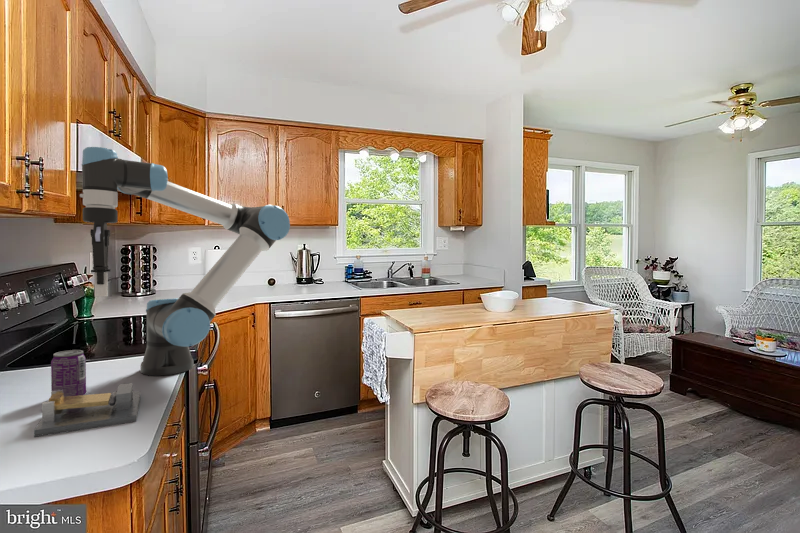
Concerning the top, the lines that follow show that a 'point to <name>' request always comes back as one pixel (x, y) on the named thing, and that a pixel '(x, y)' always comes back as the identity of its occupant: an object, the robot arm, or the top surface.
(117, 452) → the top surface
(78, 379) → the beverage can
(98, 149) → the robot arm
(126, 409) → the clamp base
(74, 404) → the tan flat panel
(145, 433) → the top surface
